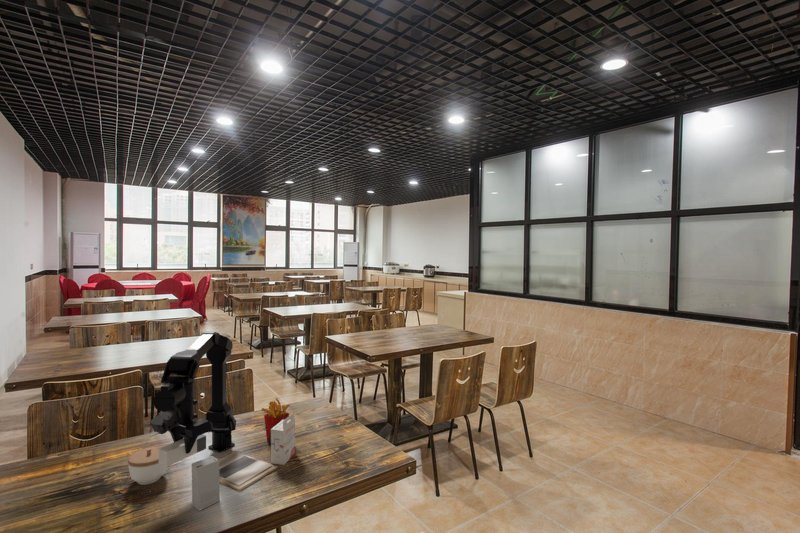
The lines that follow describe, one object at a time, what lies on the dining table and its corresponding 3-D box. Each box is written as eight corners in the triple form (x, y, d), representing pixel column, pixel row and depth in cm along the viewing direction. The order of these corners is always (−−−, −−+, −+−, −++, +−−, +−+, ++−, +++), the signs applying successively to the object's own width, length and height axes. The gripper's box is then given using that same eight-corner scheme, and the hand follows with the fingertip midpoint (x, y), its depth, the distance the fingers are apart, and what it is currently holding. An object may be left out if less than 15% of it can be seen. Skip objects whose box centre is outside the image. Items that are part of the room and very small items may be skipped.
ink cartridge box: (282, 451, 144) (282, 410, 144) (295, 453, 143) (295, 411, 143) (270, 464, 136) (270, 420, 136) (283, 465, 135) (284, 421, 135)
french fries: (289, 439, 154) (290, 399, 154) (272, 447, 147) (272, 406, 147) (273, 433, 159) (274, 395, 158) (256, 441, 152) (256, 401, 151)
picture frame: (196, 472, 130) (196, 469, 130) (235, 452, 143) (235, 450, 143) (239, 491, 120) (239, 487, 120) (277, 468, 133) (277, 465, 133)
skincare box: (213, 495, 118) (212, 454, 118) (220, 502, 115) (220, 459, 115) (190, 505, 113) (190, 462, 113) (198, 512, 110) (197, 468, 110)
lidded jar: (126, 492, 119) (125, 461, 119) (130, 474, 128) (130, 445, 128) (168, 483, 124) (168, 453, 123) (169, 467, 133) (169, 438, 133)
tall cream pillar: (158, 462, 115) (158, 448, 115) (197, 445, 126) (197, 432, 126) (167, 466, 113) (167, 452, 113) (206, 448, 124) (206, 435, 124)
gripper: (135, 400, 116) (136, 455, 117) (175, 414, 107) (176, 472, 108) (173, 389, 126) (174, 439, 127) (213, 401, 117) (213, 454, 118)
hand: (183, 451), depth 120 cm, fingers closed on tall cream pillar, 4 cm apart
